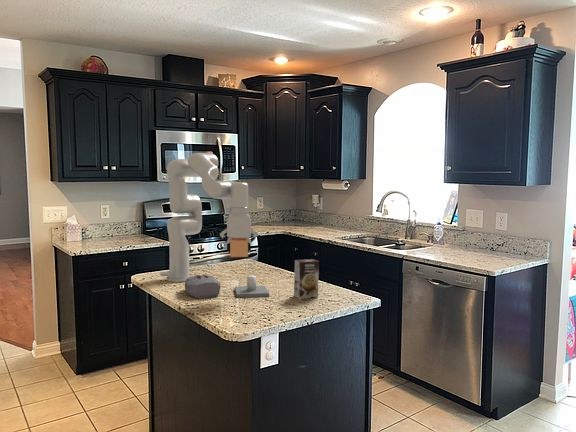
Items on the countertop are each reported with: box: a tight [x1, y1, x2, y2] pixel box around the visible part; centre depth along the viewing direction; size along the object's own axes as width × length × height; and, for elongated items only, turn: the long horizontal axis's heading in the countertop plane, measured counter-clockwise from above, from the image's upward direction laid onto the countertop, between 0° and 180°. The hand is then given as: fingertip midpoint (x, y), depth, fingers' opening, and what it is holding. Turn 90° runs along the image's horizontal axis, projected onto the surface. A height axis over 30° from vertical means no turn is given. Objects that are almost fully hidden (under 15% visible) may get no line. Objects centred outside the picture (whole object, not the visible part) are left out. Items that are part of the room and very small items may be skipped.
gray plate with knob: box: [234, 275, 270, 298], centre depth 212 cm, size 14×14×8 cm
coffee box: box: [293, 258, 320, 300], centre depth 207 cm, size 9×6×16 cm
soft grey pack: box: [184, 274, 221, 299], centre depth 212 cm, size 15×8×20 cm
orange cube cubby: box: [229, 238, 249, 258], centre depth 204 cm, size 7×7×7 cm
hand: (238, 252), depth 204 cm, fingers closed on orange cube cubby, 7 cm apart
